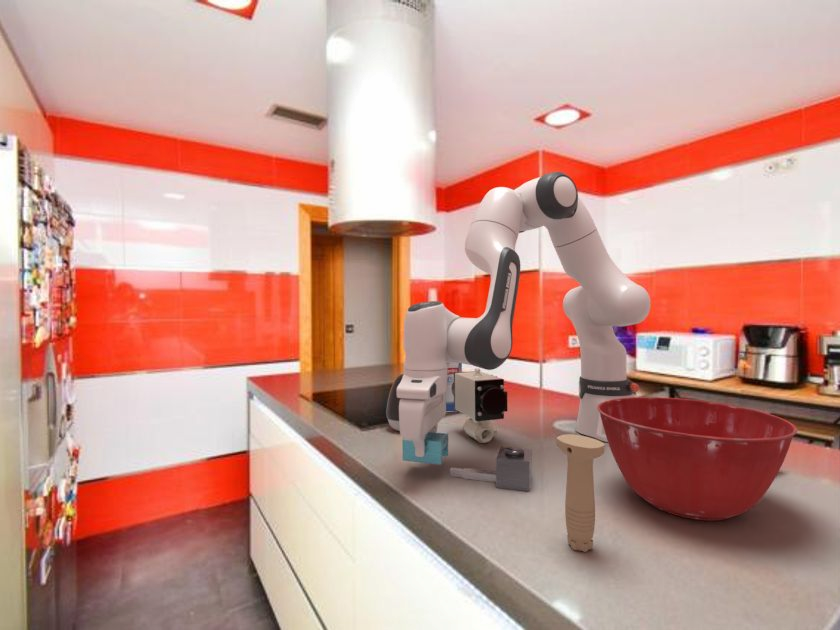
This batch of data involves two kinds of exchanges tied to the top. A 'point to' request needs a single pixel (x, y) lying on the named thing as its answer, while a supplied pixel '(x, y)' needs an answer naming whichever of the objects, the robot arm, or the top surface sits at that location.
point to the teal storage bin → (428, 449)
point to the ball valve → (479, 402)
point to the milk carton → (451, 369)
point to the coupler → (504, 470)
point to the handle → (580, 488)
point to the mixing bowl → (695, 453)
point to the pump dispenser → (394, 405)
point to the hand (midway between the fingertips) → (425, 450)
